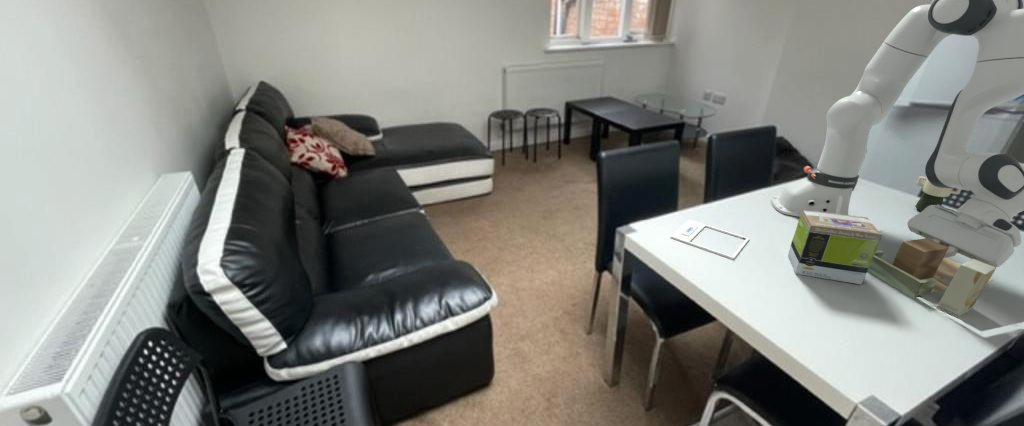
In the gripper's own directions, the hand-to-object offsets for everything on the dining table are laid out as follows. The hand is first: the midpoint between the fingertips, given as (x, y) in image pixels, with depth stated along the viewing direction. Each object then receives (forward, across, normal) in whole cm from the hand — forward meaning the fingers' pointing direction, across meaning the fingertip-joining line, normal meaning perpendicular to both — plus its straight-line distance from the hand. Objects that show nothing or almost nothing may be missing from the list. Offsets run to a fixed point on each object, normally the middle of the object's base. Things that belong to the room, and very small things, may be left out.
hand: (931, 257), depth 112 cm
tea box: (+20, -8, -13) cm, 25 cm away
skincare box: (+9, +12, -2) cm, 16 cm away
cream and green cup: (-25, -28, +33) cm, 51 cm away
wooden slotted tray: (+3, 0, +4) cm, 5 cm away
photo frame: (+34, -30, -26) cm, 52 cm away
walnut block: (+6, 0, 0) cm, 6 cm away
